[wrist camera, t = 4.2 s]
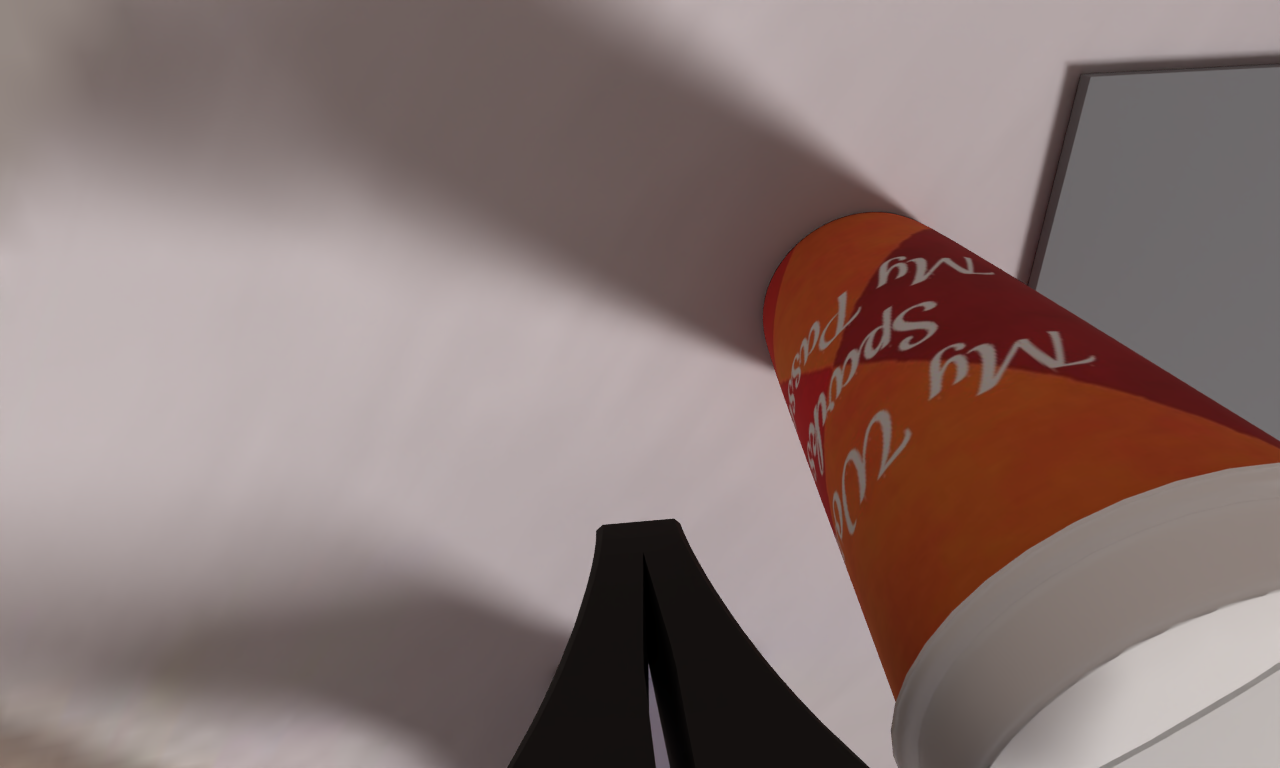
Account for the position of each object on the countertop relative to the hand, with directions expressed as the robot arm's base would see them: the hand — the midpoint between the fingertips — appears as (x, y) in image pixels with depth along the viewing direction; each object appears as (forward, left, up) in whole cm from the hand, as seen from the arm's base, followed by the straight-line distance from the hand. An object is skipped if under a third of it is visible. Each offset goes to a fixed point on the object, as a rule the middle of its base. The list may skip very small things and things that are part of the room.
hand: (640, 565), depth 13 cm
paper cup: (0, -7, -10) cm, 12 cm away
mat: (-2, -17, -9) cm, 20 cm away
